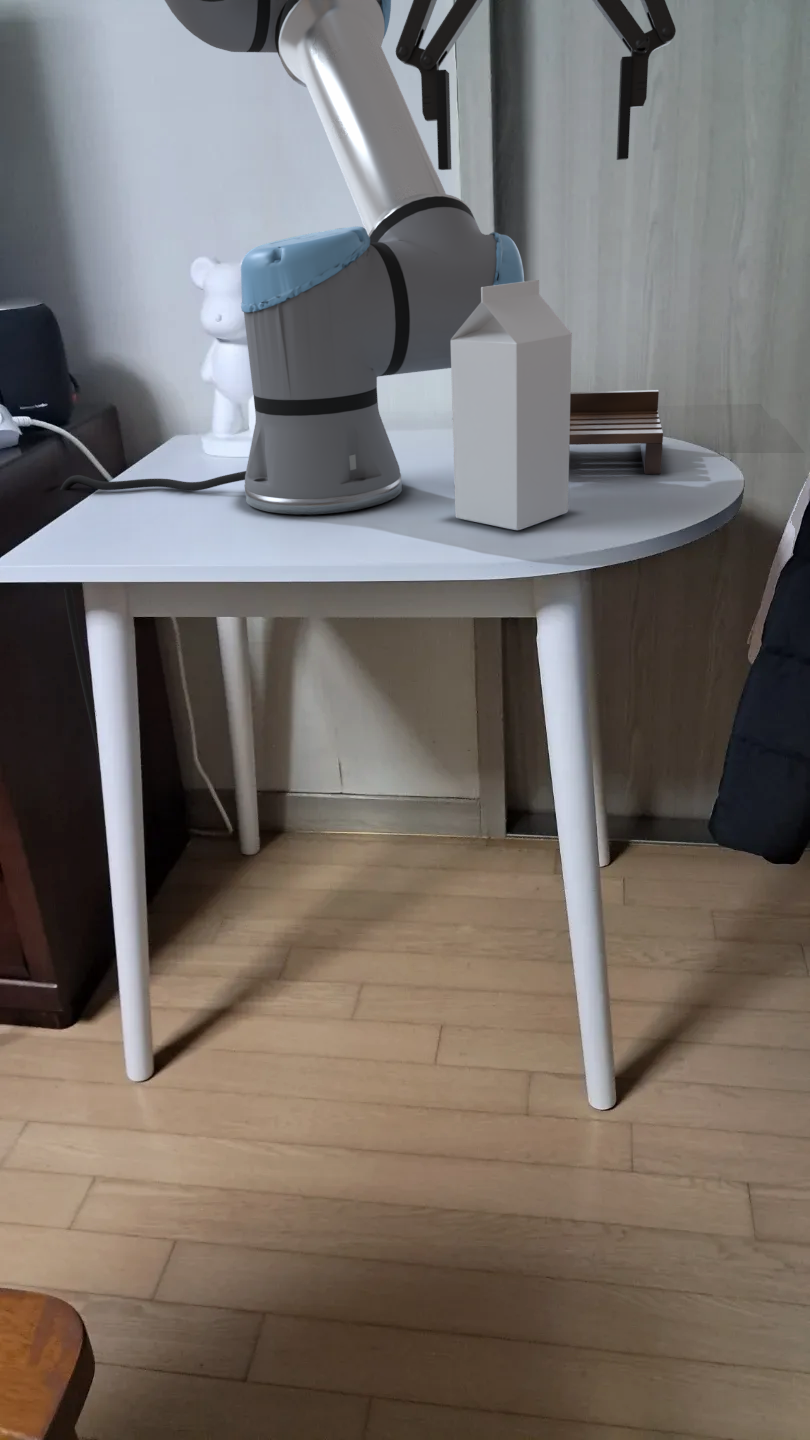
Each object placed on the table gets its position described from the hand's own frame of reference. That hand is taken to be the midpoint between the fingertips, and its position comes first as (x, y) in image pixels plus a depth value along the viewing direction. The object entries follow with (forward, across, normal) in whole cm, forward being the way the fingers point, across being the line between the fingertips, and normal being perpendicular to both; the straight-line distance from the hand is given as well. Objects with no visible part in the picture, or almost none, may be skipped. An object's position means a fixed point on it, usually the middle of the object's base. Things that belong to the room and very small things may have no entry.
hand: (532, 165), depth 80 cm
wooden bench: (+27, +6, +20) cm, 35 cm away
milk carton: (+28, -2, -2) cm, 28 cm away
